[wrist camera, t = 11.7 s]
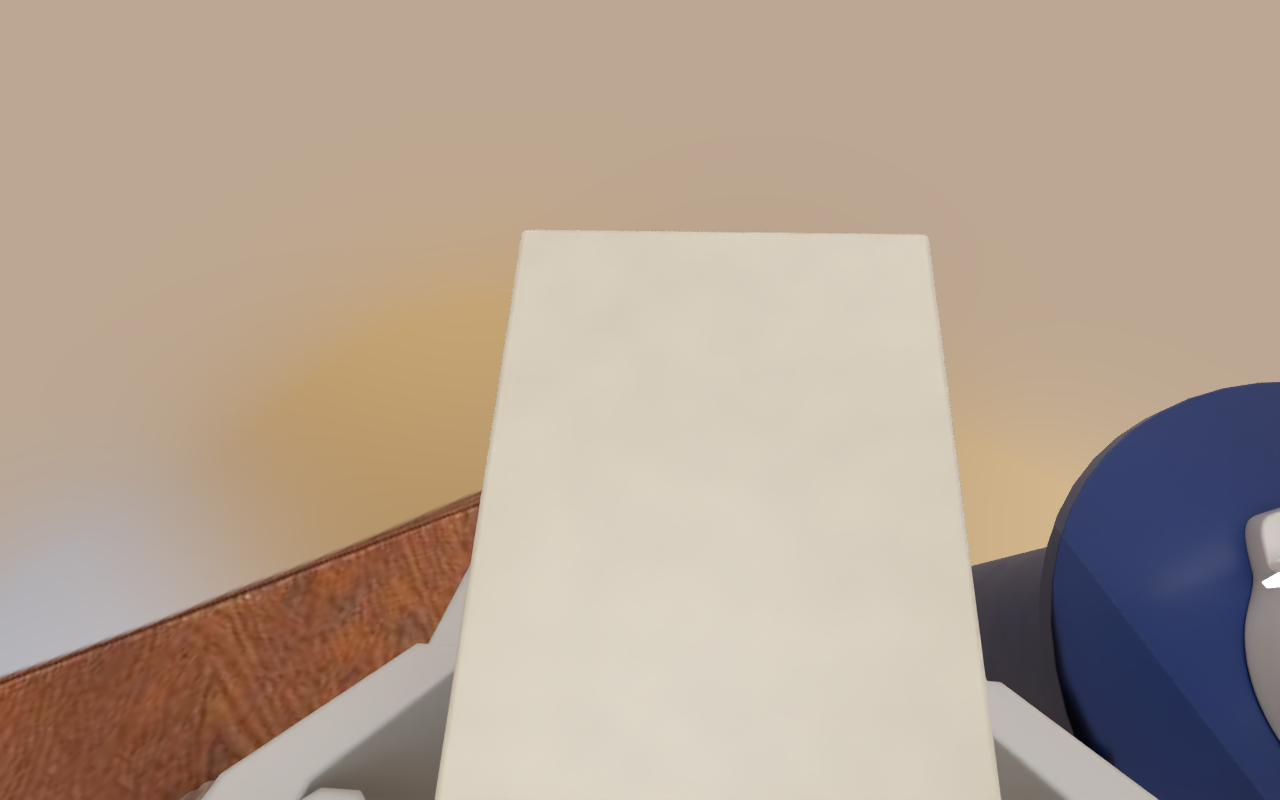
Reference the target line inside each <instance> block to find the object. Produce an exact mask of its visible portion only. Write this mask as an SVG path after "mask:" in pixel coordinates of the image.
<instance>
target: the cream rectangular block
mask: <svg viewBox="0 0 1280 800" xmlns="http://www.w3.org/2000/svg"><path fill="white" fill-rule="evenodd" d="M435 800H1001V794H1000V786H999V779H998V771H997V763H996V755H995V748H994V740H993V732H992V724H991V717H990V709H989V701H988V693H987V686H986V678H985V670H984V663H983V655H982V647H981V639H980V632H979V624H978V616H977V608H976V601H975V593H974V585H973V577H972V570H971V562H970V554H969V546H968V539H967V531H966V524H965V516H964V509H963V500H962V492H961V485H960V477H959V469H958V462H957V454H956V446H955V438H954V430H953V423H952V415H951V407H950V399H949V392H948V384H947V376H946V369H945V361H944V353H943V346H942V338H941V330H940V323H939V315H938V308H937V299H936V291H935V284H934V276H933V268H932V261H931V252H930V245H929V239H928V237H927V236H925V235H922V234H848V233H846V234H845V233H761V232H760V233H759V232H758V233H757V232H669V231H667V232H666V231H583V230H579V231H577V230H526V231H523V233H522V235H521V238H520V245H519V251H518V258H517V265H516V271H515V278H514V284H513V290H512V297H511V304H510V310H509V317H508V323H507V330H506V336H505V343H504V350H503V356H502V362H501V369H500V376H499V382H498V388H497V395H496V401H495V408H494V415H493V421H492V428H491V434H490V441H489V447H488V454H487V461H486V468H485V473H484V480H483V486H482V493H481V499H480V506H479V513H478V519H477V526H476V532H475V539H474V545H473V552H472V558H471V565H470V571H469V578H468V584H467V591H466V597H465V604H464V611H463V617H462V624H461V630H460V637H459V643H458V650H457V656H456V663H455V669H454V676H453V682H452V689H451V695H450V702H449V709H448V715H447V722H446V728H445V735H444V741H443V748H442V754H441V761H440V767H439V774H438V780H437V787H436V793H435Z"/></svg>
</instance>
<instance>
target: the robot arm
mask: <svg viewBox="0 0 1280 800" xmlns="http://www.w3.org/2000/svg"><path fill="white" fill-rule="evenodd" d="M1245 541H1246V547H1247V552H1248V557H1249V561H1250V565H1251V569H1252V573H1253V586H1252V593H1251V597H1250V601H1249V605H1248V610H1247V614H1246V621H1245V653H1246V660H1247V666H1248V670H1249V674H1250V678H1251V682H1252V685H1253V688H1254V691H1255V694H1256V696H1257V699H1258V701H1259V704H1260V706H1261V708H1262V710H1263V713H1264V715H1265V717H1266V719H1267V720H1268V722H1269V724H1270V726H1271V728H1272V730H1273V731H1274V733H1275V735H1276V736H1277V738H1278V739H1279V741H1280V508H1277V509H1274V510H1270V511H1267V512H1264V513H1261V514H1258V515H1255V516H1253V517H1252V518H1250V519H1249V520H1248V522H1247V524H1246V527H1245ZM470 565H471V564H470ZM469 571H470V566H469V568H468V570H467V572H466V574H465V575H464V577H463V579H462V581H461V583H460V585H459V587H458V589H457V591H456V592H455V594H454V596H453V598H452V600H451V602H450V604H449V606H448V608H447V609H446V611H445V613H444V615H443V617H442V619H441V621H440V623H439V625H438V626H437V628H436V630H435V632H434V634H433V636H432V638H431V640H430V642H429V643H428V644H419V643H417V644H415V645H414V646H412V647H411V648H409V649H408V650H406V651H405V652H403V653H402V654H400V655H399V656H397V657H396V658H394V659H393V660H391V661H390V662H388V663H387V664H385V665H384V666H382V667H381V668H379V669H378V670H376V671H375V672H373V673H372V674H370V675H369V676H367V677H366V678H364V679H363V680H361V681H360V682H358V683H357V684H355V685H354V686H352V687H351V688H349V689H348V690H346V691H345V692H343V693H342V694H340V695H338V696H337V697H335V698H334V699H332V700H331V701H329V702H328V703H326V704H325V705H323V706H322V707H320V708H319V709H317V710H316V711H314V712H313V713H311V714H310V715H308V716H307V717H305V718H304V719H302V720H301V721H299V722H298V723H296V724H295V725H293V726H292V727H290V728H289V729H287V730H286V731H284V732H283V733H281V734H280V735H278V736H277V737H275V738H274V739H272V740H271V741H269V742H268V743H266V744H265V745H263V746H262V747H260V748H259V749H257V750H256V751H254V752H253V753H251V754H250V755H248V756H247V757H245V758H244V759H242V760H241V761H239V762H238V763H236V764H235V765H233V766H232V767H230V768H229V769H227V770H226V771H224V772H223V773H221V774H220V775H219V777H218V778H217V779H216V781H215V782H214V783H213V785H212V786H211V787H210V789H209V790H208V791H207V793H206V794H205V795H204V797H203V798H202V799H201V800H435V793H436V787H437V780H438V774H439V767H440V761H441V754H442V748H443V741H444V735H445V728H446V722H447V715H448V709H449V702H450V695H451V689H452V682H453V676H454V669H455V663H456V656H457V650H458V643H459V637H460V630H461V624H462V617H463V611H464V604H465V597H466V591H467V584H468V578H469ZM986 686H987V693H988V701H989V709H990V717H991V724H992V732H993V740H994V748H995V755H996V763H997V771H998V779H999V786H1000V794H1001V800H1158V799H1157V798H1155V797H1154V796H1153V795H1151V794H1150V793H1149V792H1147V791H1146V790H1145V789H1143V788H1142V787H1141V786H1139V785H1138V784H1137V783H1135V782H1134V781H1133V780H1131V779H1130V778H1128V777H1127V776H1126V775H1124V774H1123V773H1122V772H1120V771H1119V770H1118V769H1116V768H1115V767H1114V766H1112V765H1111V764H1110V763H1108V762H1107V761H1106V760H1104V759H1103V758H1102V757H1100V756H1099V755H1098V754H1096V753H1095V752H1094V751H1092V750H1091V749H1090V748H1088V747H1087V746H1086V745H1084V744H1083V743H1082V742H1080V741H1079V740H1078V739H1076V738H1075V737H1074V736H1072V735H1071V734H1069V733H1068V732H1067V731H1065V730H1064V729H1063V728H1061V727H1060V726H1059V725H1057V724H1056V723H1055V722H1053V721H1052V720H1051V719H1049V718H1048V717H1047V716H1045V715H1044V714H1043V713H1041V712H1040V711H1039V710H1037V709H1036V708H1035V707H1033V706H1032V705H1031V704H1029V703H1028V702H1027V701H1025V700H1024V699H1023V698H1021V697H1020V696H1019V695H1017V694H1016V693H1015V692H1013V691H1012V690H1010V689H1009V688H1008V687H1006V686H1005V685H1004V684H1002V683H1001V682H993V681H987V680H986Z"/></svg>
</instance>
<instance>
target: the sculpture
mask: <svg viewBox="0 0 1280 800" xmlns="http://www.w3.org/2000/svg"><path fill="white" fill-rule="evenodd" d="M215 781H216V780H213V781H208V782H206V783H204V784H202V785H201V786H200V788H198V789H196V790H194V791H191V792H189V793H188V794H186V795H185V796H184V797H183V798H181V799H180V800H201V799H202V798H203V797H204V795H205V794H206V793H207V791H208V790H209V789H210V787H211V786H212V785H213V783H214V782H215Z"/></svg>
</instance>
